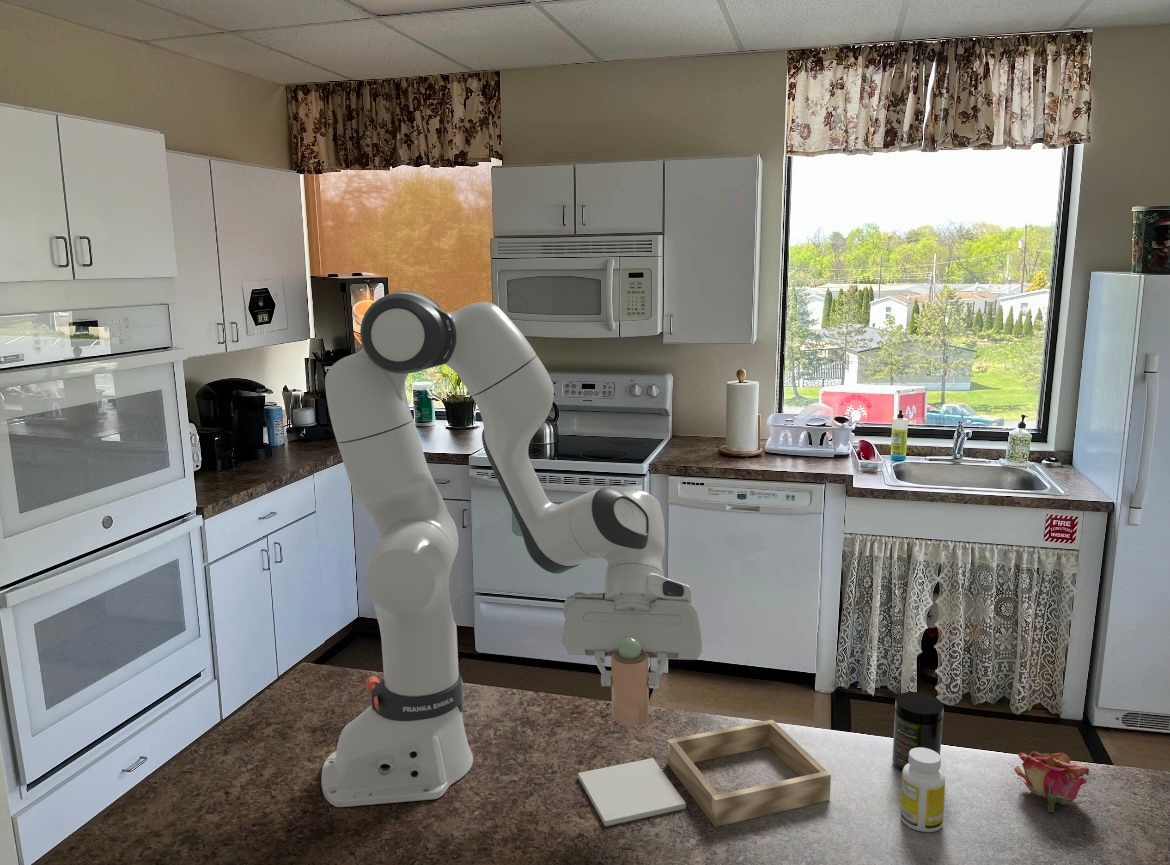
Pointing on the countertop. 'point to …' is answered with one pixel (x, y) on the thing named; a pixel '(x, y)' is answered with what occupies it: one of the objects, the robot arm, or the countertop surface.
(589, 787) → the paving tile
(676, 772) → the brown wooden rectangular frame
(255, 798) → the countertop surface
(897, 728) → the supplement container
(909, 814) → the supplement bottle
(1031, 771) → the flower
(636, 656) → the peach bottle
